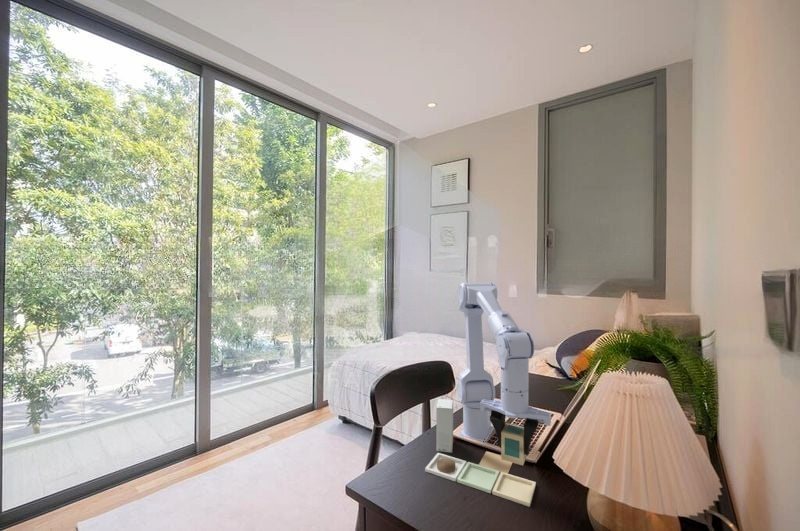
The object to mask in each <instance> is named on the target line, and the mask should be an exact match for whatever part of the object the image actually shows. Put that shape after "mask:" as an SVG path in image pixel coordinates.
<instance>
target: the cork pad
mask: <svg viewBox="0 0 800 531" xmlns="http://www.w3.org/2000/svg"><path fill="white" fill-rule="evenodd" d="M478 465H481V466H484V467H487V468H491V469H494V470H497V471H499V474H500V473H501V472H504V473H507V474H510V473H509V472H510V470H511V467H512V466H513V463H512V462H509V461H505V460H502V459H501V454H498V453H494V452H490V451H487V450H486V451H485V453H484V454H483V456H482V458H481V460H480V462H479V463H478Z"/></svg>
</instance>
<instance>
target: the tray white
mask: <svg viewBox="0 0 800 531" xmlns="http://www.w3.org/2000/svg"><path fill="white" fill-rule="evenodd" d="M442 458H448V459H451V460H453V461H454V462H455V471H454V472H452V473H443V472H440V471H439V470H438V469H437V461H438V460H440V459H442ZM467 463H468V462H467V460H464V459H460V458H457V457H453V456H451V455H447V454H444V453H441V452H437V453H436V454H435V455H434V456H433V458H432V459H431V460H430V461H429V463H428V464H427V465H426V466H425V468H424V472H426V473H429V474H431V475H434V476H437V477H439V478H443V479H446V480H448V481H449V480H450V481H452V482H457V478H458V477H459V475H460V474H461V472H462V470H463V469H464V467H465V466H466V464H467Z"/></svg>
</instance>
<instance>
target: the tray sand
mask: <svg viewBox="0 0 800 531" xmlns="http://www.w3.org/2000/svg"><path fill="white" fill-rule="evenodd" d="M536 484H537V482H536V481H533V480H529V479H528V478H524V477H520V476H517V475H513V474H510V473H508V474H507V473H504V472H501V473H500V472H499V476H498V478H497V481H496V483H495V485H494V487H493V489H492V492H491V493H492V495H494V496H495V497H496V496H497V497H499V498H502V499H504V500H509V501H510V502H513V503H516V504H520V505H522V506H526V507H529V508H530V507H531V504H532V500H533V498H534V497H533V496H534V494H535V490H536Z"/></svg>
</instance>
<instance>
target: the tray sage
mask: <svg viewBox="0 0 800 531" xmlns="http://www.w3.org/2000/svg"><path fill="white" fill-rule="evenodd" d="M499 475H500V472H499V471H497V470H494V469H491V468H487V467H484V466H481V465H479V464H477V463H475V462H470V461H468V462H467V464H466V466H465V467H464V469H463V470H462V472H461V474H460V475H459V477H458V478H457V480H456V483H458V484H461V485H464V486H466V487H470V488H473V489H476V490H477V491H478V490H479V491H482V492H484V493H488V494H491V493H492V491H493V488H494V486H495V484H496V482H497V480H498V477H499Z"/></svg>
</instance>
